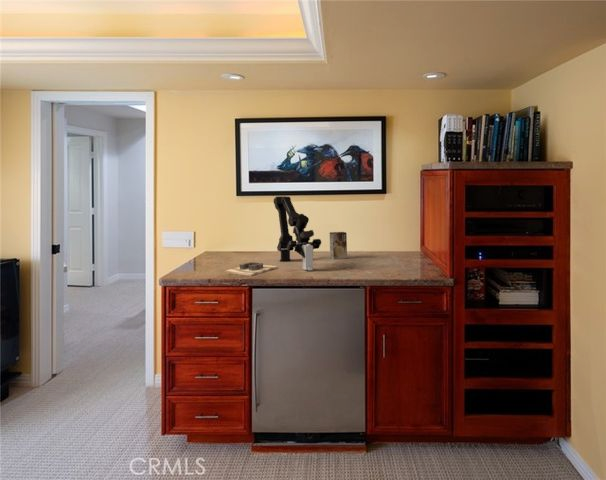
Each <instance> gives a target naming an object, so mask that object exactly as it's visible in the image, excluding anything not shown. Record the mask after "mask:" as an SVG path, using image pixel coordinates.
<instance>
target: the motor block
mask: <svg viewBox="0 0 606 480" xmlns="http://www.w3.org/2000/svg"><path fill="white" fill-rule="evenodd" d="M302 249H303V251H304V254H305V258H304V257H303V256H302V269H303V270H305V271H314V249H313V246H312V245H310V244H307V245H302Z"/></svg>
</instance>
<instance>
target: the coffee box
mask: <svg viewBox="0 0 606 480" xmlns="http://www.w3.org/2000/svg"><path fill="white" fill-rule="evenodd" d="M347 238H348V237H347V232H345V231H334V232H333V231H332V232H329V258H330V259H332V260H344V259H348V245H347V243H348V242H347Z"/></svg>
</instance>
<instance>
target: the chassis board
mask: <svg viewBox="0 0 606 480" xmlns="http://www.w3.org/2000/svg"><path fill="white" fill-rule="evenodd" d="M278 267H279V266H278V265H270V264H269V265H268V264H264V263H263V262H253V261H249V262H244V263H241V264H239V266H238V267H235V268H229V269H227V270H224V271H223V272H224V273H225V274H231V275H232V274H233V275H242V276H249V277H252V276H255V275H258V274H262V273H265V272H269V271H272V270H276V269H278Z"/></svg>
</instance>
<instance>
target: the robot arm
mask: <svg viewBox="0 0 606 480" xmlns="http://www.w3.org/2000/svg"><path fill="white" fill-rule="evenodd" d="M291 200H292V199H291V197H290V196H286V195H282V196H275V198H273V204H274V208H275V209H276V210H277V213H278V221H279V228H280V237H279V239H278V240H279V241H278V245H277V246H276V249H277V251H278V252H280V259H279V262H291V261H292V258H291V252H293V251H294V252H296V253H297V254H299V255H300V256H303V257H304V258H305V254H304V251H303V249H302V245H307V244H310V245H312V246H313V250H315V249H317V250H318V249H320V247H321V244H322V240H321V239H320V238H313V237H314V235H315V232H314V230H313V229H309V230H305V229H306V228H307V226H308V223H309V222H310V220H309V217H308V216H307V215H304V213H299V212H297V211H296V209H295V207H294V205H293V203H292V201H291ZM287 216H288V217H287ZM289 226H290V227H293V229H292V233H293V234H294V236H295V240H294V239H293V235H291V234H290V232H289V230H290V229H289ZM311 238H313V239H312V241H310V240H311Z"/></svg>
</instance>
